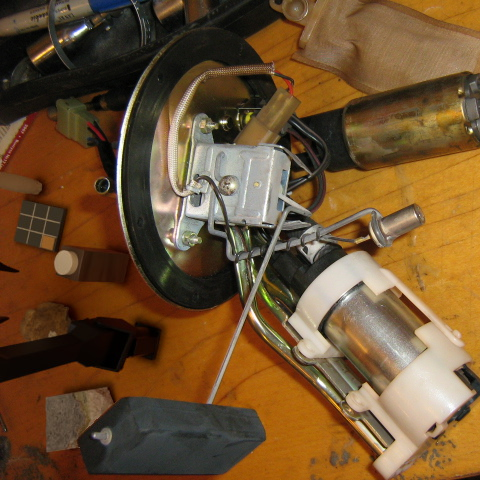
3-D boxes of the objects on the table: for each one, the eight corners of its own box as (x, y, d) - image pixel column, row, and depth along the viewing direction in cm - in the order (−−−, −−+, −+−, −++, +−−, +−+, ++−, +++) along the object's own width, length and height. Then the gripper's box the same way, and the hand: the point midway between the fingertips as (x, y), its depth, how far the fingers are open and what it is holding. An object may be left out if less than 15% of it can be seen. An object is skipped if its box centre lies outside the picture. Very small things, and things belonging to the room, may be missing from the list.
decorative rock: (30, 351, 106) (80, 354, 101) (13, 354, 102) (64, 358, 97) (31, 301, 106) (81, 302, 101) (14, 302, 102) (65, 303, 97)
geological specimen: (40, 398, 96) (90, 388, 90) (67, 393, 101) (115, 383, 95) (43, 453, 93) (94, 446, 88) (70, 444, 99) (120, 437, 93)
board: (67, 209, 105) (62, 208, 104) (57, 252, 105) (53, 251, 104) (26, 200, 111) (22, 199, 109) (17, 241, 110) (12, 240, 109)
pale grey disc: (80, 253, 87) (74, 252, 85) (75, 277, 87) (68, 277, 85) (63, 248, 88) (57, 248, 87) (58, 272, 88) (51, 272, 87)
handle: (29, 180, 111) (-39, 164, 97) (48, 176, 109) (-19, 159, 95) (28, 199, 110) (-40, 186, 96) (47, 196, 108) (-20, 182, 94)
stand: (130, 254, 97) (84, 250, 86) (123, 282, 97) (77, 281, 86) (109, 249, 99) (62, 244, 89) (103, 276, 99) (55, 275, 89)
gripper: (-97, 231, 78) (-3, 240, 93) (-122, 339, 78) (-23, 332, 92) (-59, 241, 74) (33, 249, 88) (-85, 356, 73) (13, 346, 88)
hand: (13, 294), depth 89 cm, fingers open, 9 cm apart
